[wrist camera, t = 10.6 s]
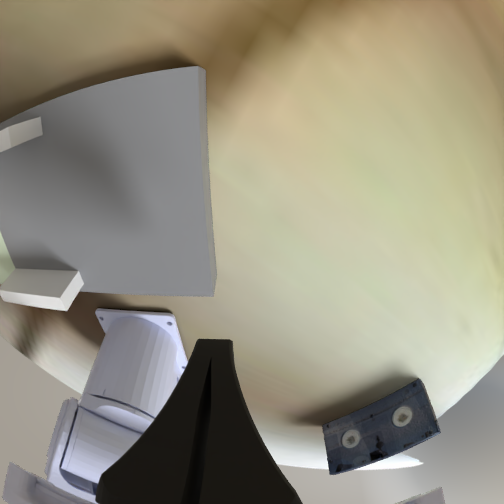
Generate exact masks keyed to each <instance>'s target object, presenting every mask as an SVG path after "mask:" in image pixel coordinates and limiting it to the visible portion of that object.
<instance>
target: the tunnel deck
mask: <svg viewBox="0 0 504 504" xmlns="http://www.w3.org/2000/svg"><path fill="white" fill-rule="evenodd" d="M216 276H217V270H216V259H215V248H214V235H213V222H212V208H211V193H210V177H209V158H208V136H207V107H206V70H204V69H203V68H201V67H199V66H193V67H184V68H175V69H168V70H161V71H155V72H149V73H144V74H139V75H134V76H129V77H125V78H120V79H116V80H112V81H108V82H104V83H101V84H97V85H94V86H90V87H87V88H84V89H80V90H77V91H74V92H71V93H68V94H66V95H63V96H60V97H57V98H55V99H52V100H50V101H47V102H45V103H42V104H40V105H37V106H35V107H33V108H30V109H28V110H26V111H24V112H22V113H20V114H17V115H15V116H13V117H11V118H9V119H7V120H5V121H4V122H2V123H0V284H2V285H1V286H0V295H1V297H2V299H3V301H6V302H11V303H16V304H22V305H28V306H34V307H41V308H47V309H54V310H62V311H67V310H68V309H69V307H70V305H71V304H72V302H73V300H74V299H75V297H76V296H77V294H78V292H79V291H81V292H96V293H113V294H133V295H160V296H209V297H214V290H215V283H216Z"/></svg>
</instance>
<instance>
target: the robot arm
mask: <svg viewBox="0 0 504 504" xmlns="http://www.w3.org/2000/svg"><path fill="white" fill-rule="evenodd" d="M95 314H96V316H97V318H98V320H99V322H100V324H101V326H102V328H103V330H104V332H105V334H106V335H105V337H104V339H103V342H102V344H101V347H100V349H99V352H98V354H97V357H96V359H95V362H94V364H93V367H92V369H91V372H90V375H89V377H88V380H87V383H86V386H85V388H84V391H83V394H82V396H81V398H80V400H79V401H78V400H77V399H75V398H73V397H71V398H70V399H67V400H64V402H63V404H62V407H61V410H60V413H59V416H58V419H57V422H56V425H55V428H54V432H53V435H52V439H51V442H50V446H49V449H48V453H47V457H48V459H47V463H46V468H45V474H46V475H47V480H45V479H43V478H41V477H39V476H37V475H35V474H33V473H30V472H28V471H26V470H25V469H23V468H21V467H20V466H18V465H16V464H14V463H12V462H10V463H9V466H8V471H7V475H6V480H5V485H4V491H3V496H2V498H3V500H5V501H6V502H7V503H9V504H303V503H302V502H301V500H300V498H299V496H298V494H297V493H296V491H295V489H294V488H293V487H292V486H291V484H290V483H289V482H288V480H287V479H286V478H285V476H284V475H283V473H282V472H281V470H280V469H279V467H278V466H277V464H276V463H275V461H274V459H273V458H272V456H271V454H270V453H269V451H268V449H267V447H266V446H265V444H264V442H263V440H262V438H261V436H260V434H259V432H258V430H257V428H256V426H255V424H254V422H253V420H252V417H251V415H250V413H249V410H248V408H247V405H246V403H245V400H244V397H243V394H242V391H241V388H240V385H239V381H238V378H237V374H236V370H235V364H234V353H233V341H231V340H230V339H198V340H197V342H196V344H195V347H194V350H193V352H192V355H191V357H190V359H189V361H187V358H186V354H185V351H184V348H183V345H182V341H181V338H180V334H179V331H178V327H177V324H176V320H175V317H174V315H173V314H171V313H161V312H142V311H126V310H113V309H101V308H98V309H97V310H96V311H95ZM181 374H182V375H181ZM396 504H445V500H444V495H443V491H442V487H439V488H436V489H434V490H431V491H429V492H427V493H424V494H420V495H417V496H414V497H411V498H409V499H406V500H404V501H401V502H398V503H396Z"/></svg>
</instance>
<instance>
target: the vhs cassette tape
mask: <svg viewBox="0 0 504 504" xmlns="http://www.w3.org/2000/svg"><path fill="white" fill-rule="evenodd" d="M322 427H323V433H324V440H325V446H326V452H327V460H328V466H329V471H330V475H336V474H340V473H343V472H347V471H351V470H354V469H357V468H360V467H363V466H366V465H369V464H371V463H375V462H377V461H380V460H383V459H386V458H388V457H391V456H393V455H395V454H398V453H400V452H403V451H405V450H407V449H409V448H411V447H413V446H415V445H417V444H420V443H422V442H424V441H426V440H428V439H430V438H432V437H434V436H436V435H438V434H440V433H441V432H440V428H439V425H438V422H437V420H436V416H435V413H434V410H433V407H432V405H431V402H430V400H429V397H428V394H427V392H426V389H425V386H424V384H423V382H422V381H421V380H420V379H417V380H416V381H414V382H412V383H411V384H409V385H407V386H405V387H403V388H402V389H400V390H398V391H396V392H394V393H392V394H391V395H389V396H387V397H385V398H383V399H381V400H379V401H377V402H375V403H373V404H371V405H369V406H366V407H364V408H362V409H360V410H358V411H355V412H353V413H351V414H349V415H346V416H344V417H341V418H339V419H337V420H334V421H331V422H329V423H326V424H324V425H323V426H322Z"/></svg>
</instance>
